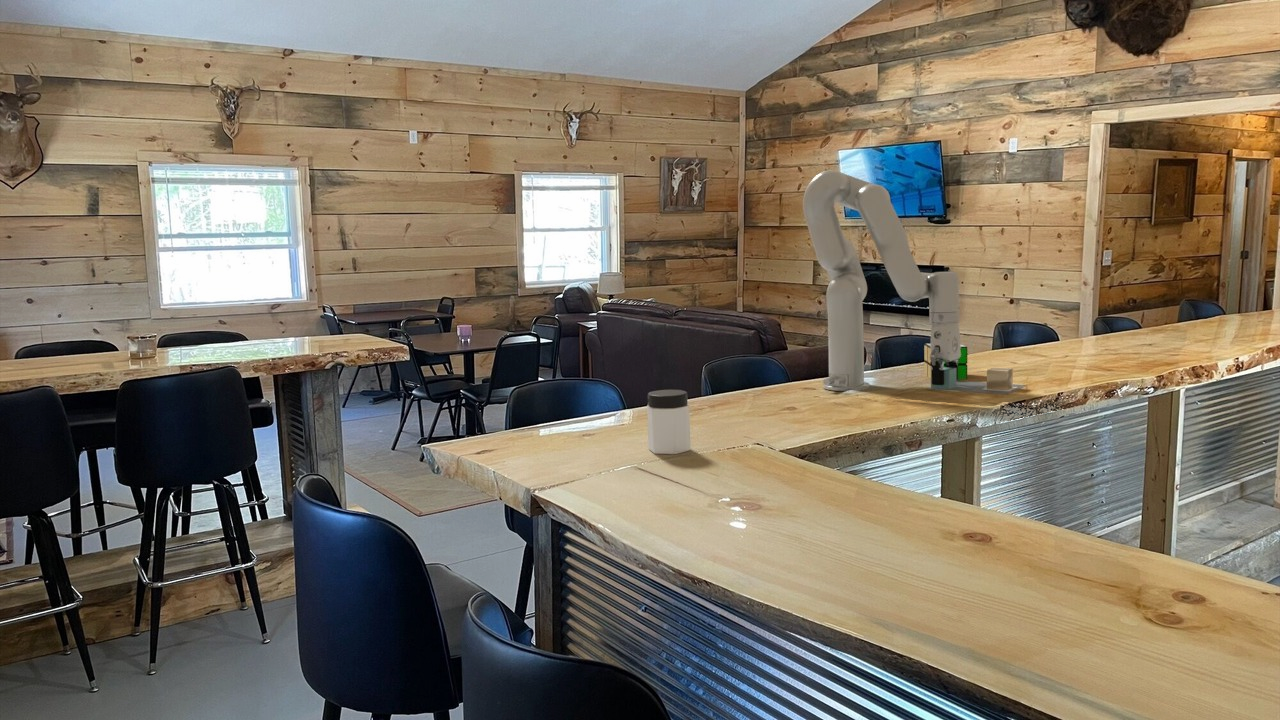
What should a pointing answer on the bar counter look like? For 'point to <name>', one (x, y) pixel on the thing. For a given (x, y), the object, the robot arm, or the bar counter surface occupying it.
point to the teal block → (947, 379)
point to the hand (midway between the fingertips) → (945, 382)
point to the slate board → (980, 388)
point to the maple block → (999, 378)
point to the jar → (668, 422)
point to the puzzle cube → (961, 362)
